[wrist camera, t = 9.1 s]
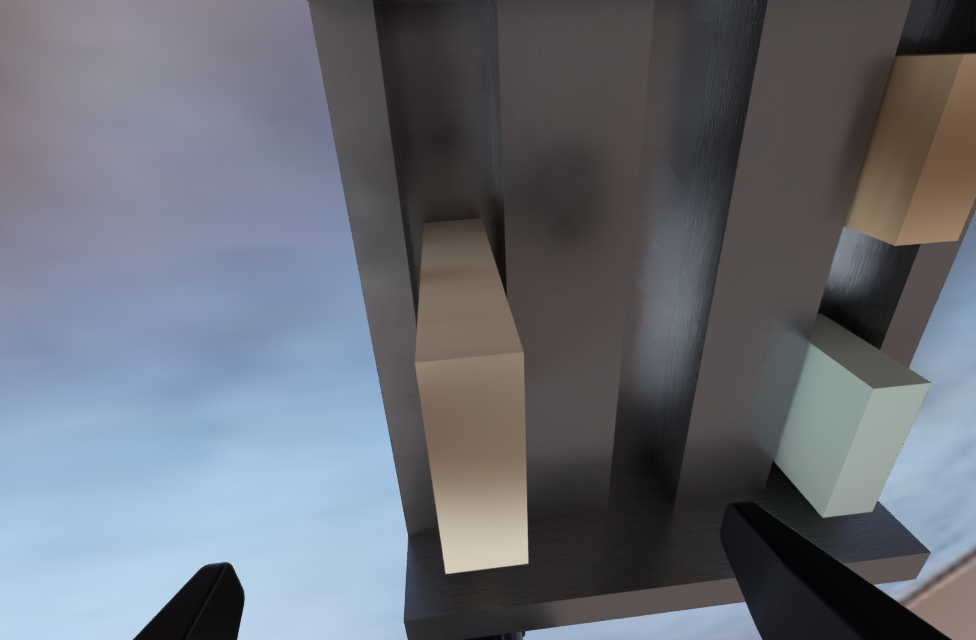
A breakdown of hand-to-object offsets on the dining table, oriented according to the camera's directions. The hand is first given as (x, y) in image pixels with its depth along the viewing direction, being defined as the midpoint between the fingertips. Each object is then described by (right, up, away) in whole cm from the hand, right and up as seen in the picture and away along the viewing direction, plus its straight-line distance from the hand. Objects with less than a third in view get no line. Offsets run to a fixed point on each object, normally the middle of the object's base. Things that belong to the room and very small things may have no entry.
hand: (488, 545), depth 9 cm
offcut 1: (+13, +10, +8) cm, 18 cm away
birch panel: (-1, +5, +9) cm, 11 cm away
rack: (+6, +6, +11) cm, 14 cm away
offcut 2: (+13, +2, +13) cm, 18 cm away
